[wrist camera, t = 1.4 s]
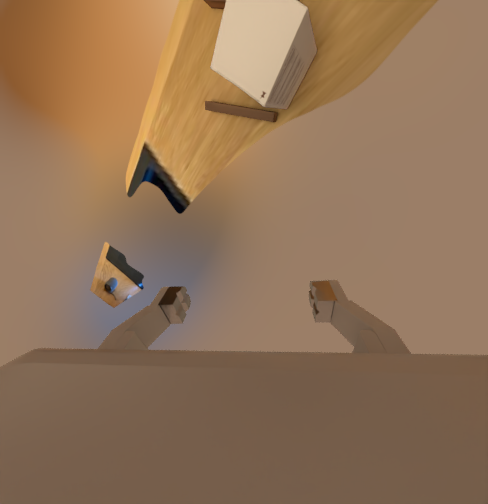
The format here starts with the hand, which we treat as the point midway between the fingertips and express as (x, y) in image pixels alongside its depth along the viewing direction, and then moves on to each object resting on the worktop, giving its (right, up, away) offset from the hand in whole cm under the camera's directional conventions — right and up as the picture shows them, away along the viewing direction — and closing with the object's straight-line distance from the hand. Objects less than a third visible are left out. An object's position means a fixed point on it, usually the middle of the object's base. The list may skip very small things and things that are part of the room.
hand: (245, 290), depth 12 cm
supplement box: (+7, +37, +22) cm, 44 cm away
